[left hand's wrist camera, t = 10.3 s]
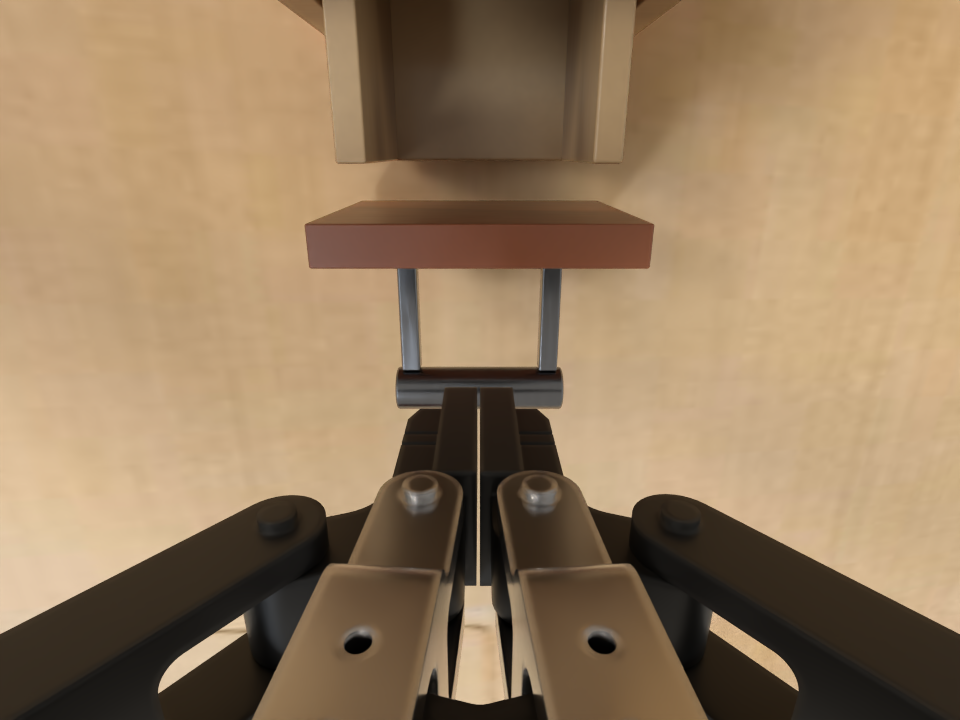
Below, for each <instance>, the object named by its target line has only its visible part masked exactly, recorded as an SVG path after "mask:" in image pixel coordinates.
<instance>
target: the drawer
mask: <svg viewBox="0 0 960 720" xmlns="http://www.w3.org/2000/svg"><path fill="white" fill-rule="evenodd" d="M636 1H637V0H322V7H323V19H324V30H325V42H326V53H327V65H328V76H329V88H330V99H331V111H332V123H333V134H334V146H335V157H336V162H337V163H338V164H364V163H375V162H386V161H396V160H462V161H574V162H585V163H595V164H619V163H621V162H622V160H623V152H624V141H625V129H626V117H627V106H628V94H629V83H630V71H631V59H632V48H633V36H634V25H635V13H636ZM305 232H306V241H307V251H308V260H309V267H310V268H322V269H397V277H398V296H399V315H400V334H401V352H402V367H399V368H398V370H397V375H396V402H397V406H398V408H400V409H442V402H443V395H444V389H445V387H477V409H480V387H512V388H513V395H514V402H515V409H559V408H561V406H562V402H563V375H562V370H561V368H560V367H557V354H558V336H559V317H560V298H561V279H562V269H648V268H649V267H650V259H651V250H652V241H653V232H654V224H652V223H649V222H647V221H645V220H642V219H640V218H637V217H635V216H632V215H630V214H628V213H625V212H623V211H620V210H618V209H615V208H613V207H611V206H608V205H606V204H603V203H601V202H598V201H361V202H358V203H356V204H353V205H351V206H348V207H346V208H344V209H341V210H339V211H336V212H334V213H331V214H329V215H326V216H324V217H322V218H319V219H317V220H314V221H312V222H309V223H307V224H305ZM418 269H541V279H540V305H539V330H538V355H537V365H538V367H421V365H422V355H421V329H420V304H419V279H418Z"/></svg>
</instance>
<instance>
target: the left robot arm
mask: <svg viewBox="0 0 960 720" xmlns="http://www.w3.org/2000/svg"><path fill="white" fill-rule="evenodd" d="M476 566H477V387H445V389H444V395H443V402H442V409H420V410H418V411H417V412H416V413H415V414H414V415H413V416H412V417H410V418H409V419H408V422H407V426H406V429H405V434H404V437H403V441H402V445H401V448H400V452H399V455H398V459H397V463H396V466H395V470H394V474H393V478H392V479H390V480H388V481H387V482H386V483H385V484H384V485H383V486H382V487H381V488H380V490H379V492H378V494H377V497H376V499H375V501H374V503H373V504H371V505H369V506H367V507H365V508H362V509H360V510H357V511H353V512H349V513H345V514H340V515H335V516H330V517H326V512H325V509H324V507H323V506H322V505H321V504H320V503H319V502H318V501H316V500H314V499H312V498H309V497H305V496H298V495H288V496H279V497H274V498H270V499H267V500H264V501H261V502H259V503H256V504H254V505H252V506H250V507H248V508H246V509H244V510H242V511H240V512H238V513H236V514H234V515H233V516H231V517H229V518H227V519H225V520H223V521H221V522H219V523H217V524H215V525H213V526H211V527H209V528H207V529H205V530H203V531H201V532H199V533H197V534H195V535H193V536H191V537H190V538H188V539H186V540H184V541H182V542H180V543H178V544H176V545H174V546H172V547H170V548H168V549H166V550H164V551H162V552H160V553H158V554H156V555H154V556H152V557H150V558H148V559H147V560H145V561H143V562H141V563H139V564H137V565H135V566H133V567H131V568H129V569H127V570H125V571H123V572H121V573H119V574H117V575H115V576H113V577H111V578H109V579H107V580H105V581H104V582H102V583H100V584H98V585H96V586H94V587H92V588H90V589H88V590H86V591H84V592H82V593H80V594H78V595H76V596H74V597H72V598H70V599H68V600H66V601H64V602H62V603H61V604H59V605H57V606H55V607H53V608H51V609H49V610H47V611H45V612H43V613H41V614H39V615H37V616H35V617H33V618H31V619H29V620H27V621H25V622H23V623H21V624H19V625H18V626H16V627H14V628H12V629H10V630H8V631H6V632H4V633H2V634H0V720H960V634H958V633H956V632H954V631H952V630H950V629H948V628H946V627H944V626H942V625H941V624H939V623H937V622H935V621H933V620H931V619H929V618H927V617H925V616H923V615H921V614H919V613H917V612H915V611H913V610H911V609H909V608H907V607H905V606H903V605H901V604H899V603H898V602H896V601H894V600H892V599H890V598H888V597H886V596H884V595H882V594H880V593H878V592H876V591H874V590H872V589H870V588H868V587H866V586H864V585H862V584H860V583H858V582H856V581H855V580H853V579H851V578H849V577H847V576H845V575H843V574H841V573H839V572H837V571H835V570H833V569H831V568H829V567H827V566H825V565H823V564H821V563H819V562H817V561H815V560H813V559H812V558H810V557H808V556H806V555H804V554H802V553H800V552H798V551H796V550H794V549H792V548H790V547H788V546H786V545H784V544H782V543H780V542H778V541H776V540H774V539H772V538H770V537H769V536H767V535H765V534H763V533H761V532H759V531H757V530H755V529H753V528H751V527H749V526H747V525H745V524H743V523H741V522H739V521H737V520H735V519H733V518H731V517H729V516H727V515H726V514H724V513H722V512H720V511H718V510H716V509H714V508H712V507H710V506H708V505H706V504H704V503H702V502H699V501H697V500H694V499H691V498H688V497H684V496H679V495H671V494H659V495H652V496H649V497H646V498H644V499H641V500H640V501H639V502H637V503H636V505H635V506H634V508H633V511H632V518H630V517H625V516H620V515H615V514H610V513H606V512H602V511H599V510H596V509H593V508H591V507H589V506H587V504H586V501H585V499H584V497H583V494H582V492H581V490H580V488H579V487H578V486H577V485H576V484H575V483H574V482H573V481H572V480H570V479H568V478H567V477H565V476H563V472H562V468H561V465H560V461H559V457H558V453H557V449H556V445H555V441H554V438H553V435H552V430H551V426H550V422H549V419H548V418H547V417H545V416H544V415H543V414H542V413H541V412H540V411H539V410H537V409H515V402H514V395H513V388H512V387H480V586H492V603H493V606H494V609H495V611H496V620H495V621H496V633H497V641H498V649H499V657H500V665H501V672H502V680H503V688H504V696H505V700H502V701H498V702H494V703H490V704H484V705H476V704H470V703H466V702H462V701H458V700H455V696H456V688H457V680H458V672H459V665H460V657H461V649H462V641H463V633H464V592H465V586H476ZM712 612H715V613H716V614H718V615H719V616H721V617H722V618H724V619H725V620H727V621H728V622H730V623H731V624H733V625H734V626H736V627H737V628H739V629H740V630H742V631H743V632H745V633H746V634H748V635H749V636H751V637H752V638H754V639H756V640H757V641H759V642H760V643H762V644H763V645H765V646H766V647H768V648H769V649H771V650H772V651H774V652H775V653H776V654H778V655H779V656H780V657H781V658H782V659H783V660H784V661H785V662H786V663H787V664H788V665H789V667H790V668H791V669H792V671H793V673H794V675H795V677H796V679H797V682H798V687H799V691H797V690H795V689H794V688H792V687H791V686H790V685H788V684H787V683H785V682H784V681H782V680H781V679H779V678H778V677H777V676H775V675H774V674H772V673H771V672H769V671H768V670H766V669H765V668H764V667H762V666H761V665H759V664H758V663H756V662H755V661H753V660H752V659H751V658H749V657H748V656H746V655H745V654H743V653H742V652H740V651H739V650H738V649H736V648H735V647H733V646H732V645H730V644H729V643H727V642H726V641H724V640H723V639H722V638H720V637H719V636H717V635H716V634H714V633H713V632H711V631H710V630H709V628H710V623H711V618H712ZM242 614H244V619H245V624H246V629H247V633H246V634H244V635H243V636H241V637H240V638H238V639H237V640H236V641H234V642H233V643H231V644H230V645H228V646H227V647H225V648H224V649H222V650H221V651H220V652H218V653H217V654H215V655H214V656H212V657H211V658H209V659H208V660H207V661H205V662H204V663H202V664H201V665H199V666H198V667H196V668H195V669H194V670H192V671H191V672H189V673H188V674H186V675H185V676H183V677H182V678H181V679H179V680H178V681H176V682H175V683H173V684H172V685H170V686H169V687H168V688H166V689H165V690H163V691H162V692H160V693H159V694H158V687H159V683H160V681H161V678H162V676H163V675H164V673H165V671H166V670H167V669H168V667H169V666H170V665H171V664H172V663H173V662H174V661H175V660H176V659H177V658H178V657H179V656H181V655H182V654H183V653H185V652H186V651H188V650H189V649H191V648H192V647H194V646H195V645H197V644H198V643H200V642H201V641H203V640H204V639H206V638H207V637H209V636H211V635H212V634H214V633H215V632H217V631H218V630H220V629H221V628H223V627H224V626H226V625H227V624H229V623H230V622H232V621H233V620H235V619H236V618H238V617H239V616H241V615H242Z"/></svg>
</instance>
